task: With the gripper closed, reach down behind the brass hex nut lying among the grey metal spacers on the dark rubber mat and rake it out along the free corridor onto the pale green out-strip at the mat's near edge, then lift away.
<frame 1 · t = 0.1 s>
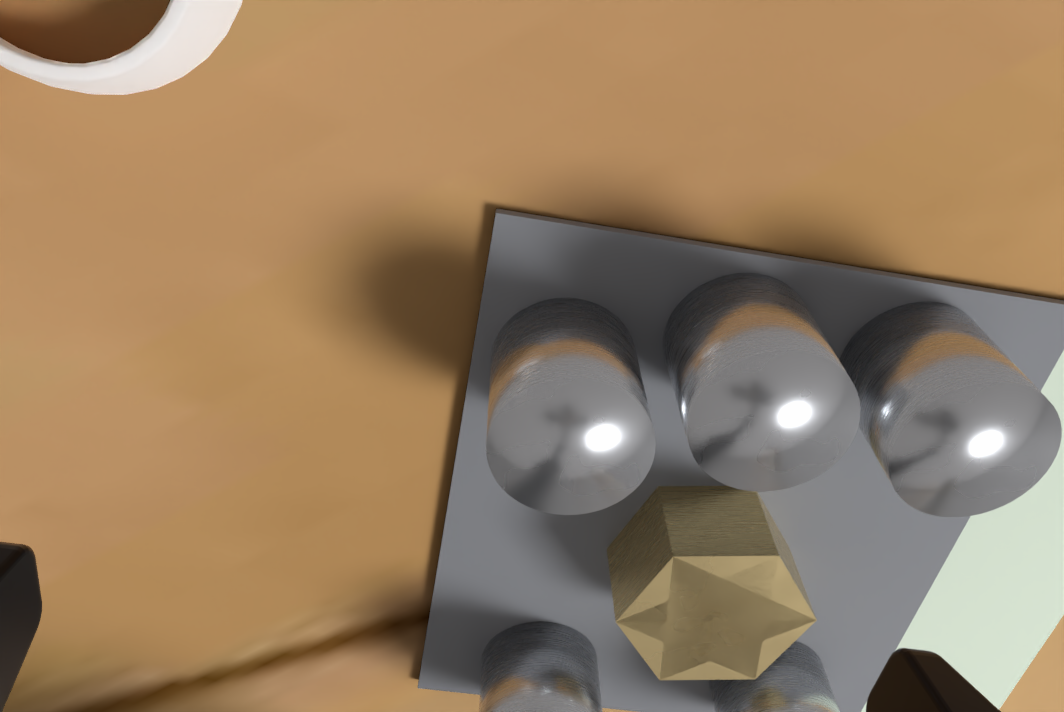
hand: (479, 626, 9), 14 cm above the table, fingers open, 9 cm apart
nut: (698, 547, 28), resting on mat
mat: (796, 529, 28), on the table
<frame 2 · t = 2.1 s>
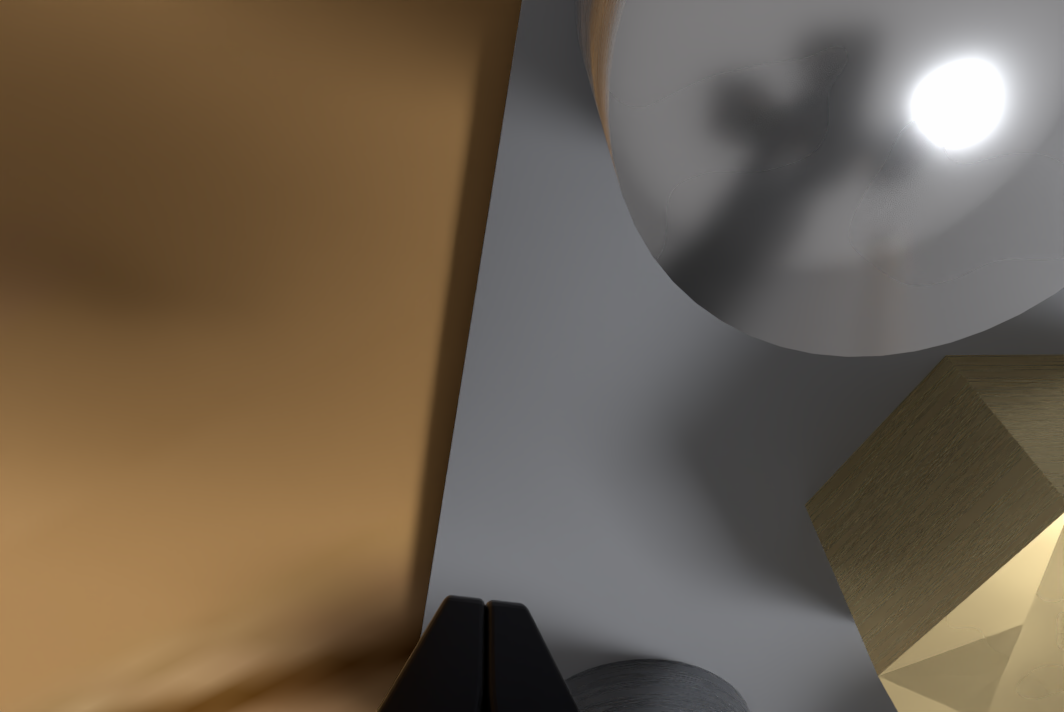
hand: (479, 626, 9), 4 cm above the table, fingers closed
nut: (1003, 503, 13), resting on mat
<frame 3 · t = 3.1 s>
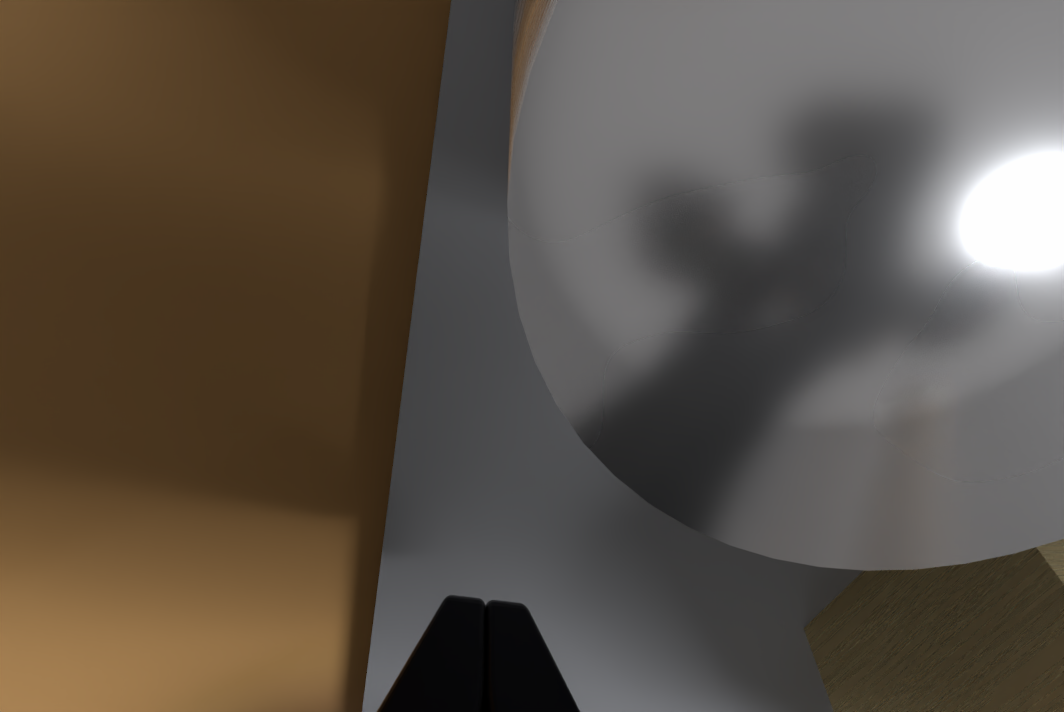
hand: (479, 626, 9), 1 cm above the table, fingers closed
nut: (1039, 626, 11), resting on mat
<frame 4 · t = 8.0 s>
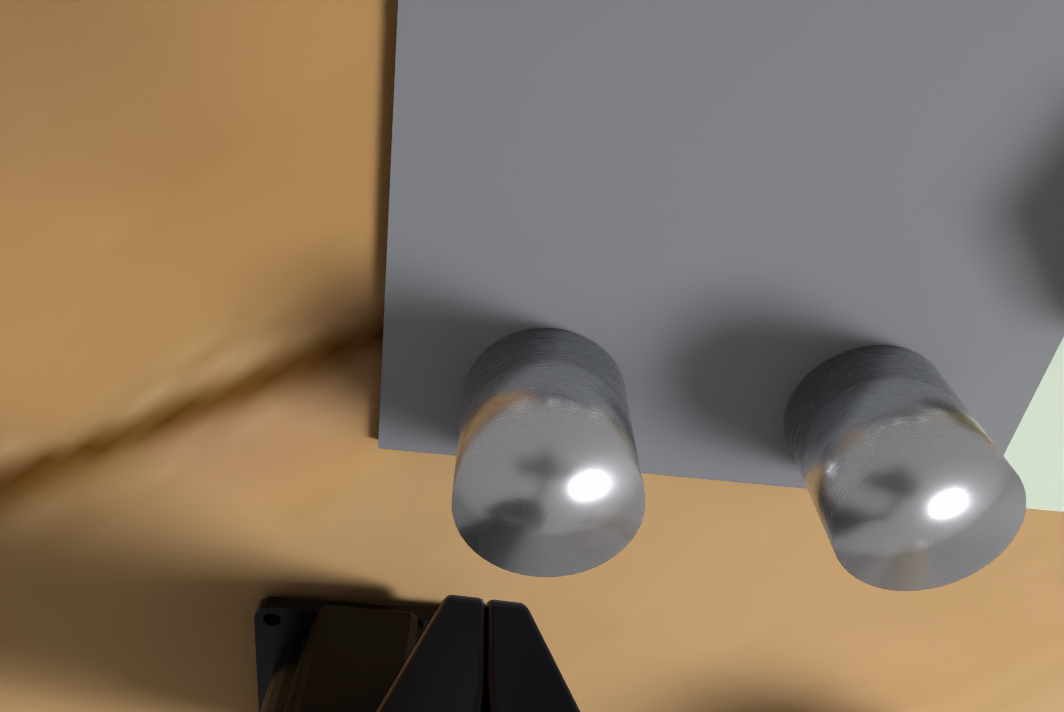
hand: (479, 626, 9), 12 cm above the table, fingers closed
spacers: (369, 673, 27), resting on mat
mat: (911, 153, 19), on the table
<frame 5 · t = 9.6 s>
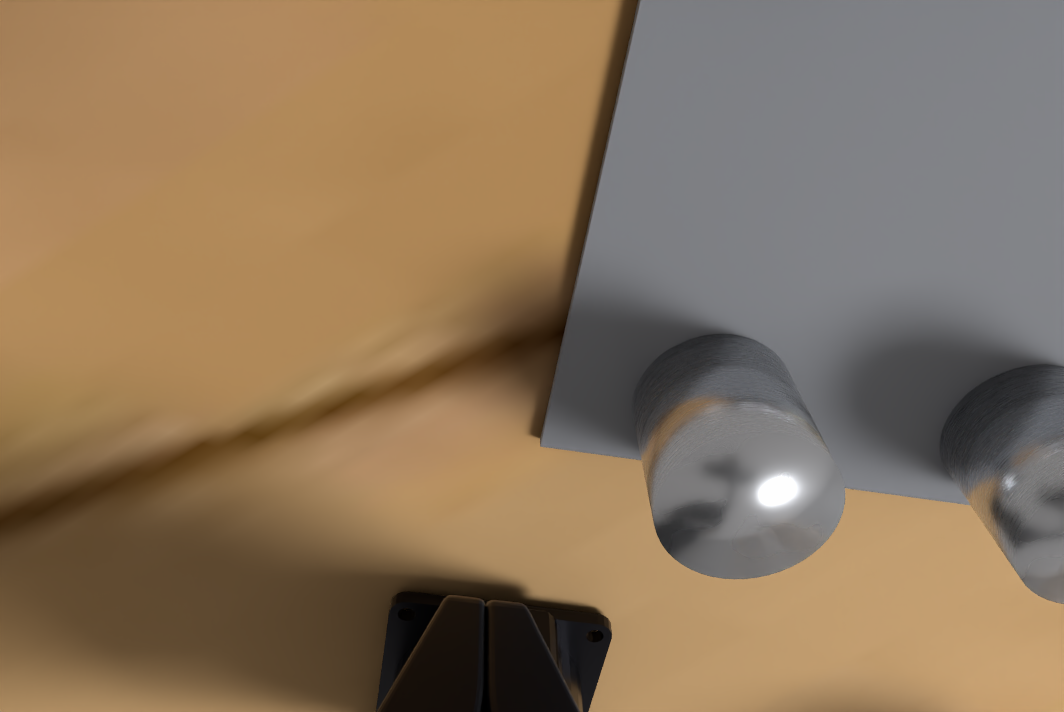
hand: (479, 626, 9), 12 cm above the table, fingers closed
spacers: (488, 672, 27), resting on mat
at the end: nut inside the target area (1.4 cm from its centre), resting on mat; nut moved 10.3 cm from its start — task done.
